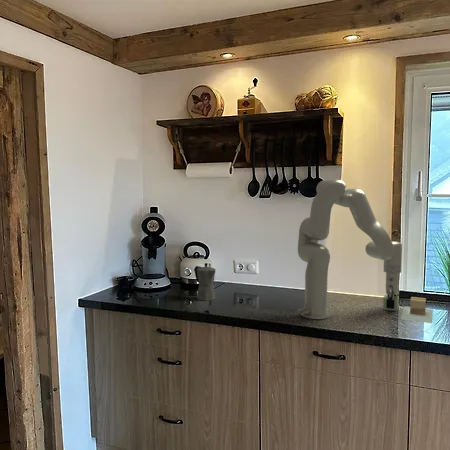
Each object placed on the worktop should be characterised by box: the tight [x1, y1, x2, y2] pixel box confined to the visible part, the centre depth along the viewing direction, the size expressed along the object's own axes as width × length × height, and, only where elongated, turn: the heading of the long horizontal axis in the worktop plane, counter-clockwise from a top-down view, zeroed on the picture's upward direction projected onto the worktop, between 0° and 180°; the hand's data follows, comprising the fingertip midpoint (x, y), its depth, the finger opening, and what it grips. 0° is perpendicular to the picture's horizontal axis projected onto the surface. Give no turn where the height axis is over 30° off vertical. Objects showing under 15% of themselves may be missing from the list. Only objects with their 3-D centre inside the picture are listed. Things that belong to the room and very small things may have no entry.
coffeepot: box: [193, 262, 217, 302], centre depth 222 cm, size 15×9×18 cm, turn 44°
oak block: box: [409, 296, 427, 315], centre depth 196 cm, size 6×6×6 cm
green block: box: [382, 294, 400, 312], centre depth 202 cm, size 6×6×6 cm
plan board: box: [400, 306, 434, 324], centre depth 194 cm, size 22×12×1 cm, turn 154°
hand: (391, 305), depth 202 cm, fingers open, 9 cm apart
